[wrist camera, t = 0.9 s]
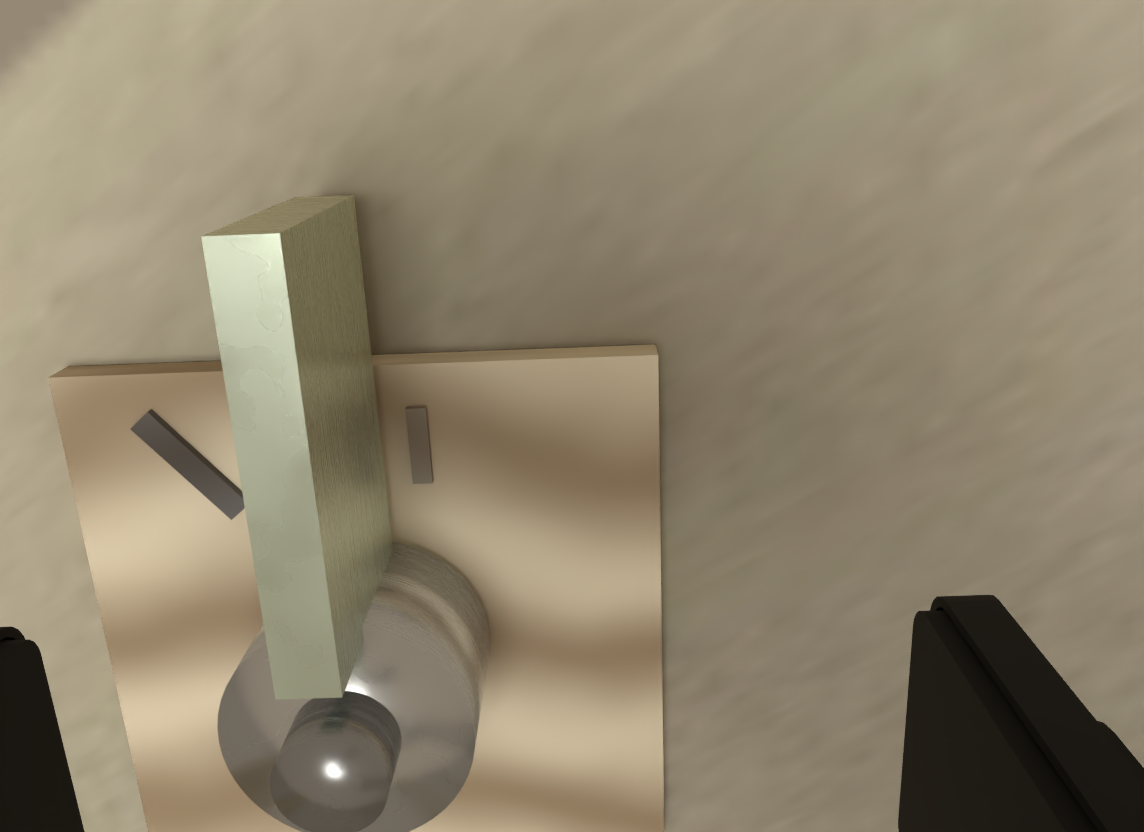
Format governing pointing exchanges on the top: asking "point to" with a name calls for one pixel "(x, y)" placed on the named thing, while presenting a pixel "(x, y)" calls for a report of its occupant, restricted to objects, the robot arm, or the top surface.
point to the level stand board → (417, 518)
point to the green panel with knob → (332, 550)
